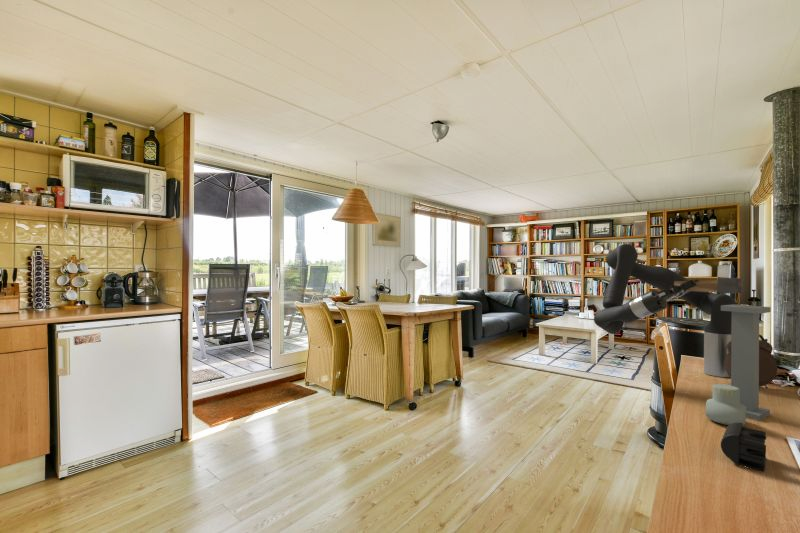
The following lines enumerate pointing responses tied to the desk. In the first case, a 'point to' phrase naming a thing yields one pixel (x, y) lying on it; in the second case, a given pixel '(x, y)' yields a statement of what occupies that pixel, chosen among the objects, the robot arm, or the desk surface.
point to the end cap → (745, 446)
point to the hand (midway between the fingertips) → (696, 282)
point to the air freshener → (726, 405)
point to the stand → (746, 356)
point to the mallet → (716, 286)
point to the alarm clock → (765, 362)
